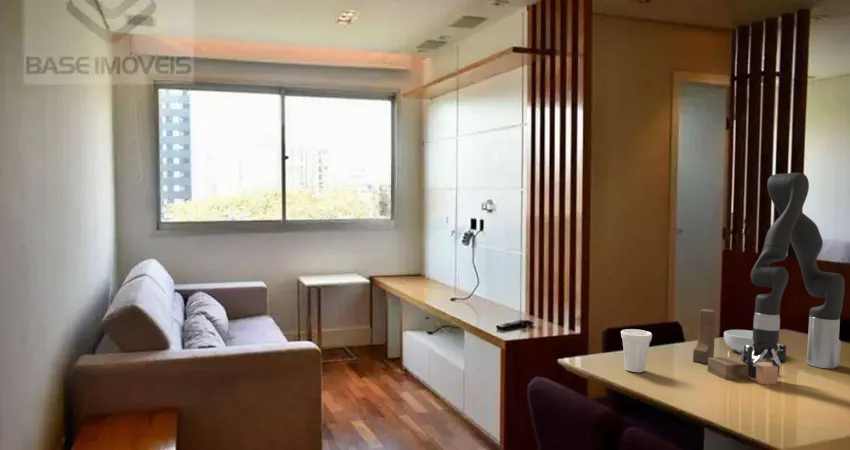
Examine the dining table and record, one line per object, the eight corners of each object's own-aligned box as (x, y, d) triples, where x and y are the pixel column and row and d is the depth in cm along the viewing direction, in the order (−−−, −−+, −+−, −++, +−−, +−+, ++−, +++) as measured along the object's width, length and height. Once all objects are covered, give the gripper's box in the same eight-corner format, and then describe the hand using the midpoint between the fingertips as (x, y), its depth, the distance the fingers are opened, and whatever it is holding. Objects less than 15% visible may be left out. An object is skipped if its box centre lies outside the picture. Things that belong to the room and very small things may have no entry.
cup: (655, 370, 218) (657, 332, 218) (642, 377, 211) (644, 337, 210) (627, 364, 225) (629, 327, 224) (614, 370, 218) (615, 332, 217)
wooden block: (705, 364, 228) (708, 313, 227) (692, 361, 231) (695, 311, 230) (713, 359, 235) (716, 310, 234) (700, 356, 238) (703, 308, 237)
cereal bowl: (774, 351, 249) (775, 333, 248) (770, 360, 235) (772, 341, 234) (726, 344, 258) (727, 326, 258) (720, 353, 244) (721, 334, 243)
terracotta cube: (764, 378, 213) (765, 362, 213) (777, 383, 208) (778, 366, 207) (750, 379, 212) (750, 362, 211) (762, 384, 206) (763, 367, 206)
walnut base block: (730, 371, 221) (731, 356, 221) (749, 379, 213) (749, 364, 212) (707, 372, 219) (708, 357, 219) (725, 380, 211) (725, 365, 210)
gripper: (776, 323, 214) (773, 372, 215) (739, 324, 211) (736, 374, 212) (794, 329, 206) (791, 379, 207) (755, 330, 203) (752, 381, 204)
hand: (763, 376), depth 210 cm, fingers open, 8 cm apart
